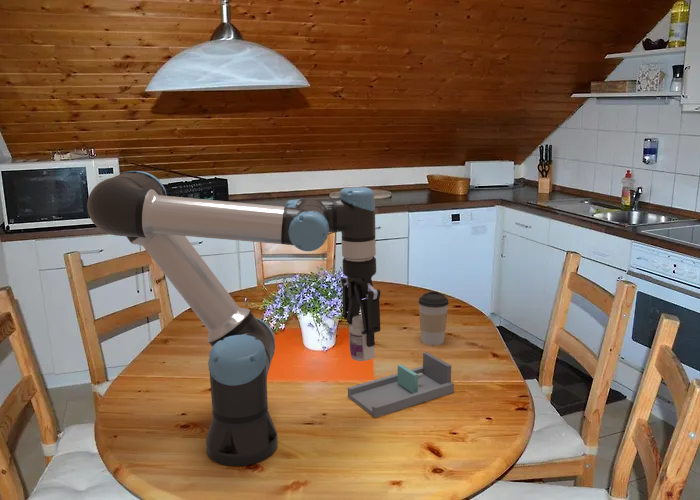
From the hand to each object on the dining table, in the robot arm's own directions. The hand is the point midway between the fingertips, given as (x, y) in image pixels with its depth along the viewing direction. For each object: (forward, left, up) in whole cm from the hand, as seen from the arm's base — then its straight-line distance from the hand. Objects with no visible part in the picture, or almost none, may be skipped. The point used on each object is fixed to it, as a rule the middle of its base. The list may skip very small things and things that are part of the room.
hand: (361, 353), depth 142 cm
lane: (+13, +3, -15) cm, 21 cm away
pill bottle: (0, 0, -1) cm, 1 cm away
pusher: (+17, +3, -14) cm, 23 cm away
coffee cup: (+42, +26, -15) cm, 52 cm away
